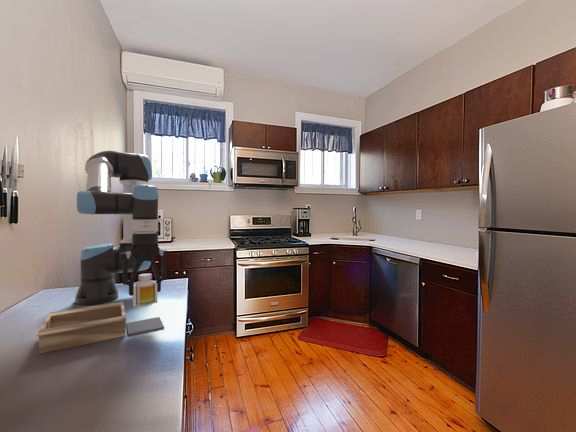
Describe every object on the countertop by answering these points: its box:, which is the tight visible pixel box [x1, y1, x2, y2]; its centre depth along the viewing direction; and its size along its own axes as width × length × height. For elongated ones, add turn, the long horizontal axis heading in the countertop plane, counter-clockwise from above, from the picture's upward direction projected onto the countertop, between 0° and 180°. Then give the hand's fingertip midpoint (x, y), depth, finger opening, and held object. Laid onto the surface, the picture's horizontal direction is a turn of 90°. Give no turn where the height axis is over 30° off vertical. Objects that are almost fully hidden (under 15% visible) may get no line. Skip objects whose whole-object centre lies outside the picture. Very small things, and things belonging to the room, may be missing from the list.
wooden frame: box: [36, 301, 127, 355], centre depth 82 cm, size 19×20×6 cm
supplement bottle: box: [135, 272, 155, 307], centre depth 89 cm, size 5×5×10 cm
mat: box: [125, 316, 165, 337], centre depth 89 cm, size 10×10×1 cm
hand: (145, 303), depth 89 cm, fingers closed on supplement bottle, 5 cm apart
